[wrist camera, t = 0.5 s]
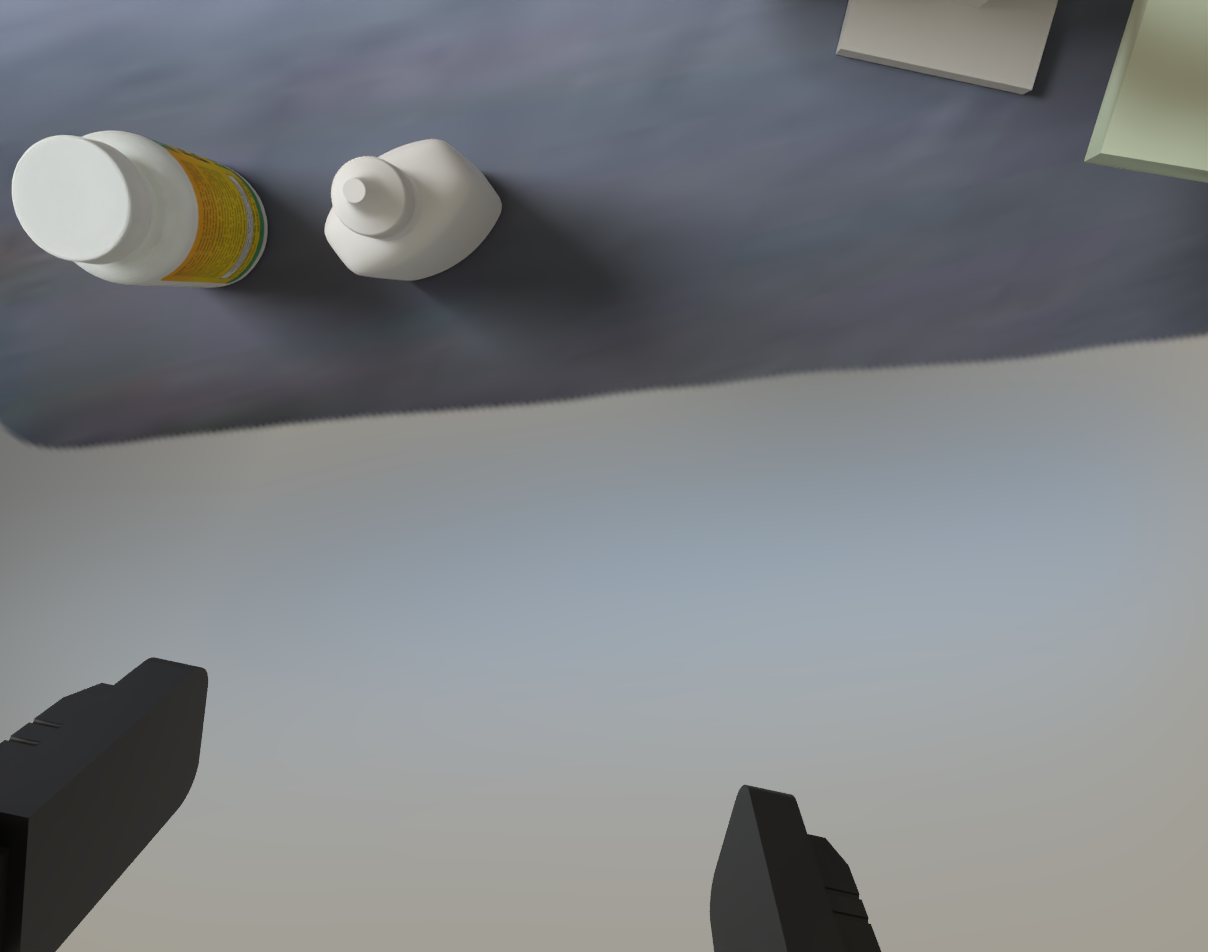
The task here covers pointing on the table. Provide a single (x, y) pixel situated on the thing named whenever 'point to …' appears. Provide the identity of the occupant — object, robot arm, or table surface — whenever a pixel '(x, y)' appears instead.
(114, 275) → the supplement bottle
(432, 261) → the eye dropper bottle
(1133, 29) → the tilting chute
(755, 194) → the table surface
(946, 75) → the chute stand
